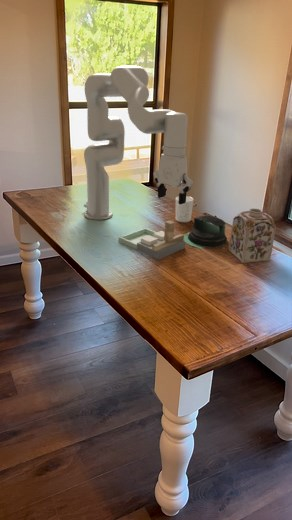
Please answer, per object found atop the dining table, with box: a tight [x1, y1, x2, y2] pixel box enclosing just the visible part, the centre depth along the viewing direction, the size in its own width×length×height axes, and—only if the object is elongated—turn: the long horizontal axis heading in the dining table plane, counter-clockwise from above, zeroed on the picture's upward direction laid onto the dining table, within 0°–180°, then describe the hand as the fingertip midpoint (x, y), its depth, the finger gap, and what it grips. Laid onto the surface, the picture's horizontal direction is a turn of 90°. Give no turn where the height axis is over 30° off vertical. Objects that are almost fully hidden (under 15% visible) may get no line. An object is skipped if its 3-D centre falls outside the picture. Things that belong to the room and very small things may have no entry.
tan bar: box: [152, 220, 185, 251], centre depth 156 cm, size 2×16×9 cm, turn 136°
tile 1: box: [141, 235, 158, 245], centre depth 159 cm, size 4×4×2 cm
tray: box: [118, 227, 157, 251], centre depth 167 cm, size 10×15×2 cm, turn 136°
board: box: [136, 239, 186, 260], centre depth 161 cm, size 11×15×3 cm
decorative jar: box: [228, 208, 277, 264], centre depth 155 cm, size 12×12×18 cm
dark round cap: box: [184, 214, 228, 250], centre depth 170 cm, size 20×20×9 cm
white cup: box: [174, 195, 195, 223], centre depth 189 cm, size 8×8×10 cm
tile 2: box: [153, 230, 165, 240], centre depth 164 cm, size 4×4×2 cm
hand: (171, 200), depth 151 cm, fingers open, 9 cm apart
